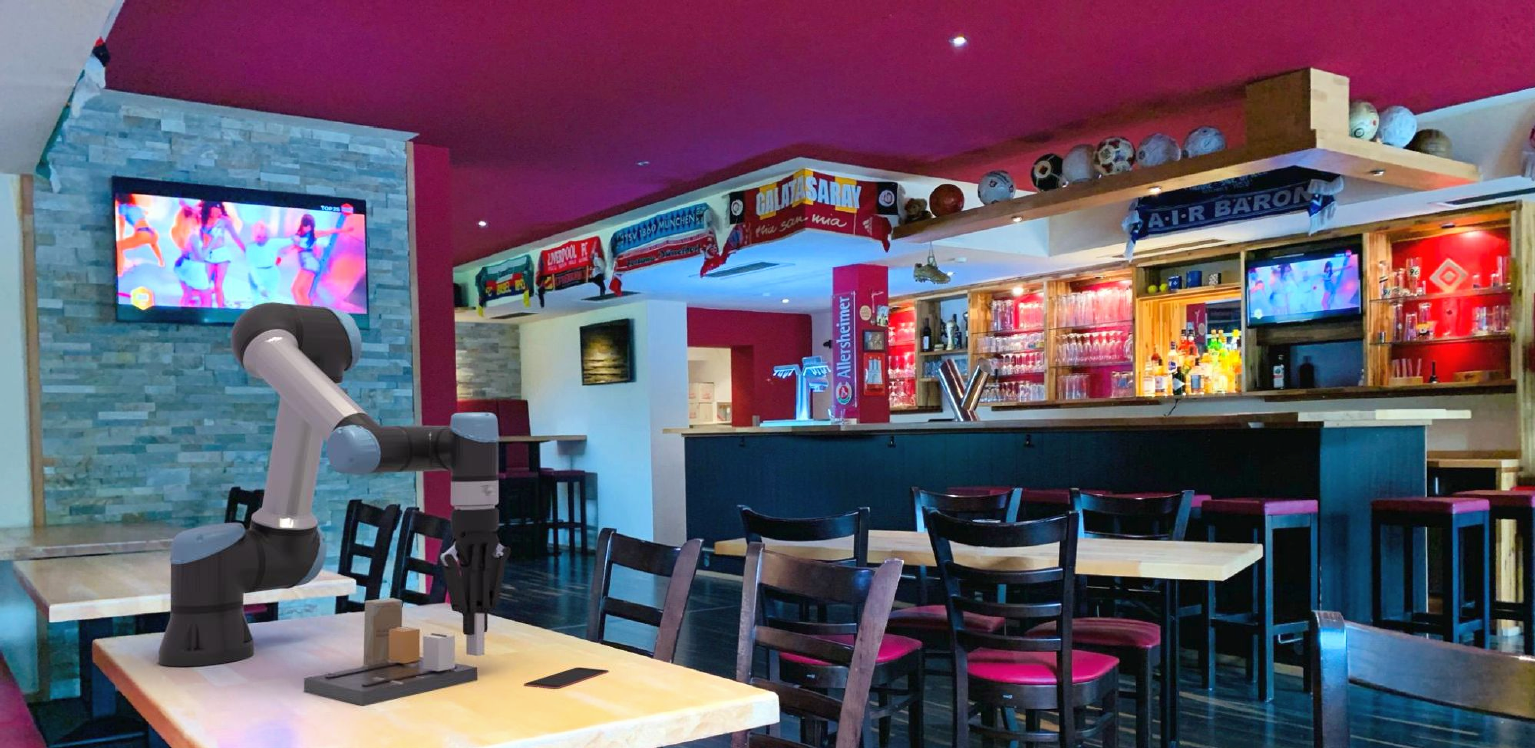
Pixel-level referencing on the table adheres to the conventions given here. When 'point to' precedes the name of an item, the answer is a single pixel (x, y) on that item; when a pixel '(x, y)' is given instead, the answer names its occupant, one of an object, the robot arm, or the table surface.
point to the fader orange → (404, 645)
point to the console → (386, 681)
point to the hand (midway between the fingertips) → (475, 654)
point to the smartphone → (566, 678)
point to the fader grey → (438, 651)
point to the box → (380, 628)
